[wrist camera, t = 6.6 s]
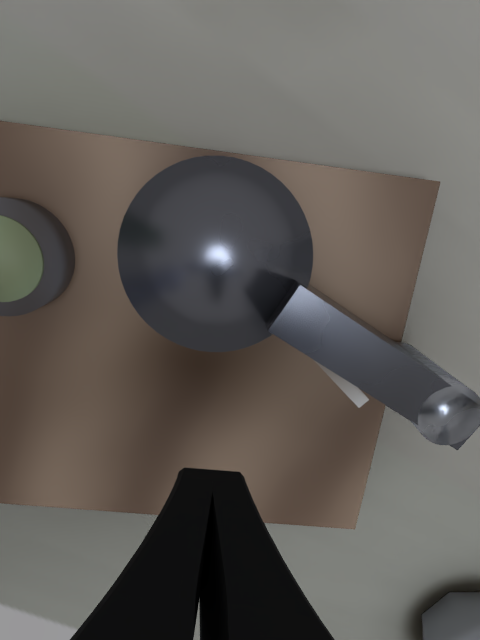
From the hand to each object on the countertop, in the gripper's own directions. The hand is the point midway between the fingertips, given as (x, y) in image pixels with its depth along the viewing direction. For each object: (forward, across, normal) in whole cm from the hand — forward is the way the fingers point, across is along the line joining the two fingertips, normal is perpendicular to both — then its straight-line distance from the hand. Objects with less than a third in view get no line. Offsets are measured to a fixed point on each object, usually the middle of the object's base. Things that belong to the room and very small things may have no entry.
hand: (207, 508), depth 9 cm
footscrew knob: (+6, -2, -4) cm, 7 cm away
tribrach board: (+7, +1, -1) cm, 7 cm away
